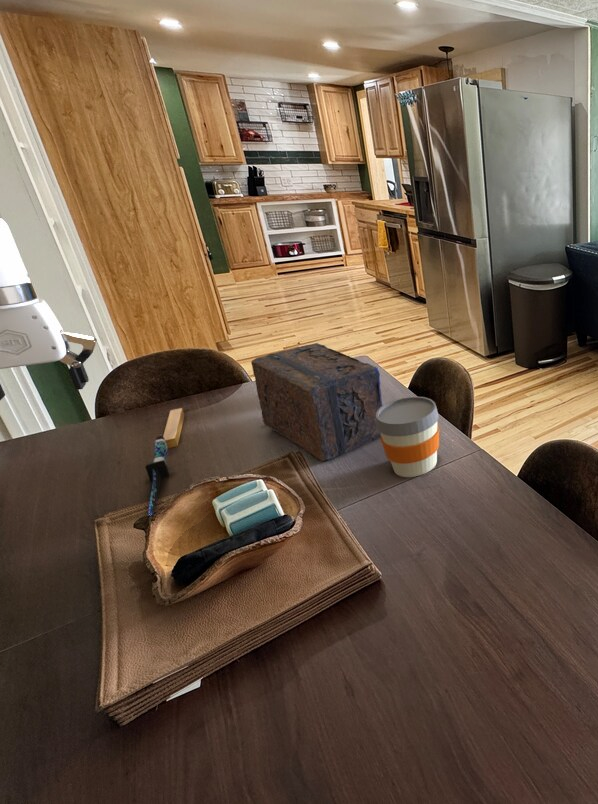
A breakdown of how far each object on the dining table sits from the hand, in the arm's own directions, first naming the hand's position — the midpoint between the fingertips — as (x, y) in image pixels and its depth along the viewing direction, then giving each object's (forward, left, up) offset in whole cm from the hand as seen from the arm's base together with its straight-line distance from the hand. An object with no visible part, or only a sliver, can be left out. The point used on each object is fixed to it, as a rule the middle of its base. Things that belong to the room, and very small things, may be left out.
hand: (41, 393), depth 81 cm
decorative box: (+40, +10, -27) cm, 49 cm away
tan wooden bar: (+8, +32, -27) cm, 42 cm away
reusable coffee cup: (+54, -18, -27) cm, 63 cm away
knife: (+8, +4, -27) cm, 28 cm away
